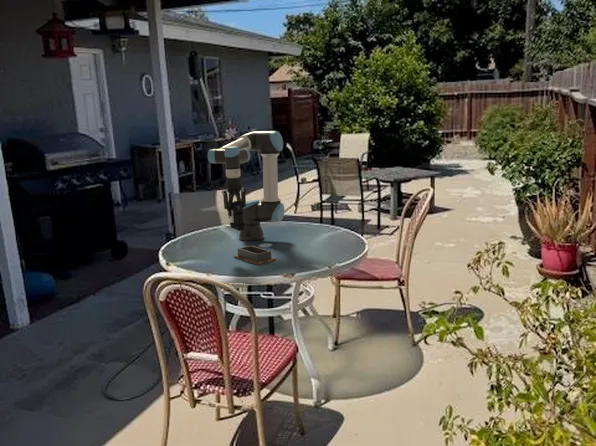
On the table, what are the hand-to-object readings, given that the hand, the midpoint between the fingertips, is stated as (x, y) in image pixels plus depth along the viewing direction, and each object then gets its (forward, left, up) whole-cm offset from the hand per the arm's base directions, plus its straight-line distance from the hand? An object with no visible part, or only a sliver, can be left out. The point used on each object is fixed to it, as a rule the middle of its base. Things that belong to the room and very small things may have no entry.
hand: (236, 221), depth 290 cm
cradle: (-7, +5, -19) cm, 21 cm away
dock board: (-7, +5, -20) cm, 22 cm away
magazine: (0, 0, -4) cm, 4 cm away
